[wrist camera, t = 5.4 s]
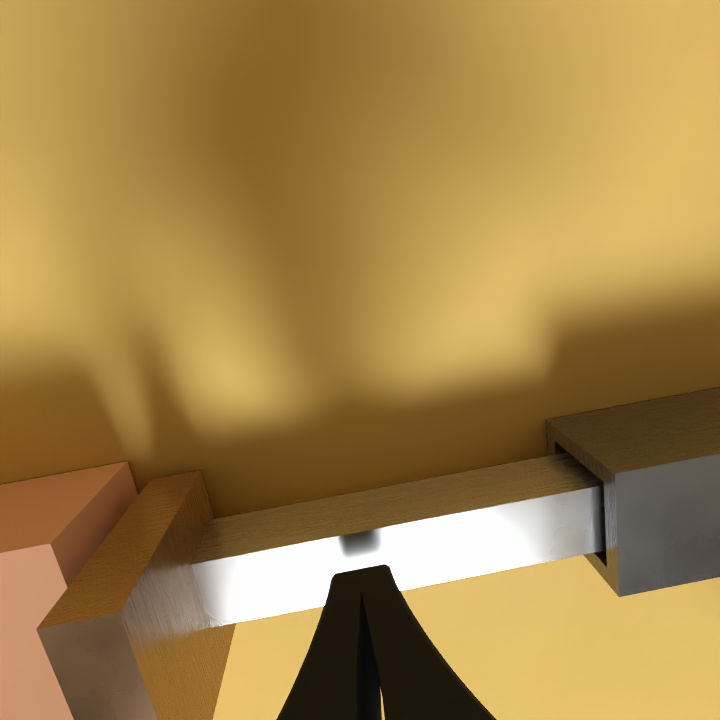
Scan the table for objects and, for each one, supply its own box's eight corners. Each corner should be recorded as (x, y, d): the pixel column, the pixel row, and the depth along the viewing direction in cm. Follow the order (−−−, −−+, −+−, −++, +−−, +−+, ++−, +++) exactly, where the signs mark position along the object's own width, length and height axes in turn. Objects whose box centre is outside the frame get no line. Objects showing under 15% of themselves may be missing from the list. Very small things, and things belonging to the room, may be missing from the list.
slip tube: (671, 382, 14) (882, 464, 9) (670, 524, 15) (856, 672, 10) (49, 498, 13) (-133, 661, 8) (100, 635, 15) (-28, 855, 9)
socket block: (127, 460, 14) (50, 543, 10) (179, 622, 15) (129, 748, 11) (-73, 498, 14) (-230, 596, 10) (-1, 657, 15) (-113, 797, 11)
